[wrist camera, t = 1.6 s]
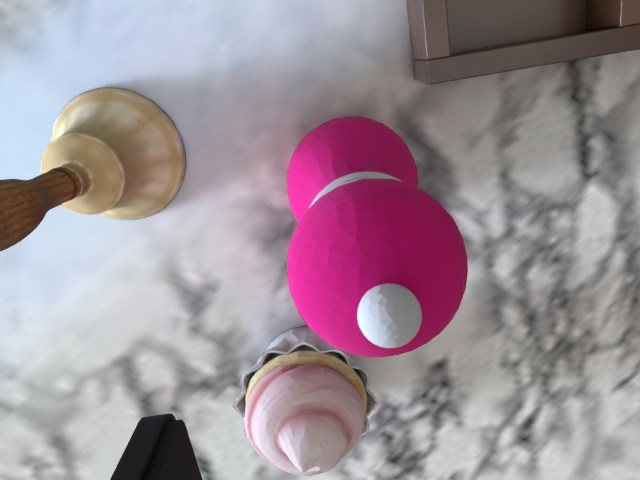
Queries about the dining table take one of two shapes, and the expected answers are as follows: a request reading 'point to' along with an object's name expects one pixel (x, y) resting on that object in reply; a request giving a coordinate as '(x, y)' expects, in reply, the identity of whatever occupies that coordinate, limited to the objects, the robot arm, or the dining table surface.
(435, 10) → the holder
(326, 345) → the cupcake
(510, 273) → the dining table surface
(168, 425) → the robot arm
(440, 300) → the pepper mill
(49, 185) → the hand bell
